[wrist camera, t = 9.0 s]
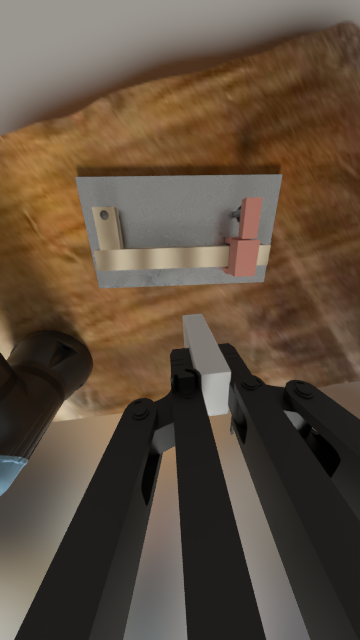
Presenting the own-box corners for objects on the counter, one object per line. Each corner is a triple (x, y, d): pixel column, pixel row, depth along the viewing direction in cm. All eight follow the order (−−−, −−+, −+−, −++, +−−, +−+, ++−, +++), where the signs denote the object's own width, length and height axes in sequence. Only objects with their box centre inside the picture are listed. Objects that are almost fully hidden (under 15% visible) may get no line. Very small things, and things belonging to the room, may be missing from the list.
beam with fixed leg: (104, 267, 31) (97, 271, 28) (92, 209, 27) (84, 207, 24) (258, 262, 32) (267, 265, 29) (267, 206, 28) (278, 203, 26)
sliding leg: (222, 271, 32) (234, 278, 26) (227, 205, 28) (242, 197, 22) (239, 270, 32) (254, 278, 26) (246, 204, 28) (266, 197, 22)
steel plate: (101, 286, 33) (99, 288, 32) (78, 179, 26) (74, 176, 25) (261, 280, 34) (263, 281, 33) (278, 176, 27) (282, 174, 26)
